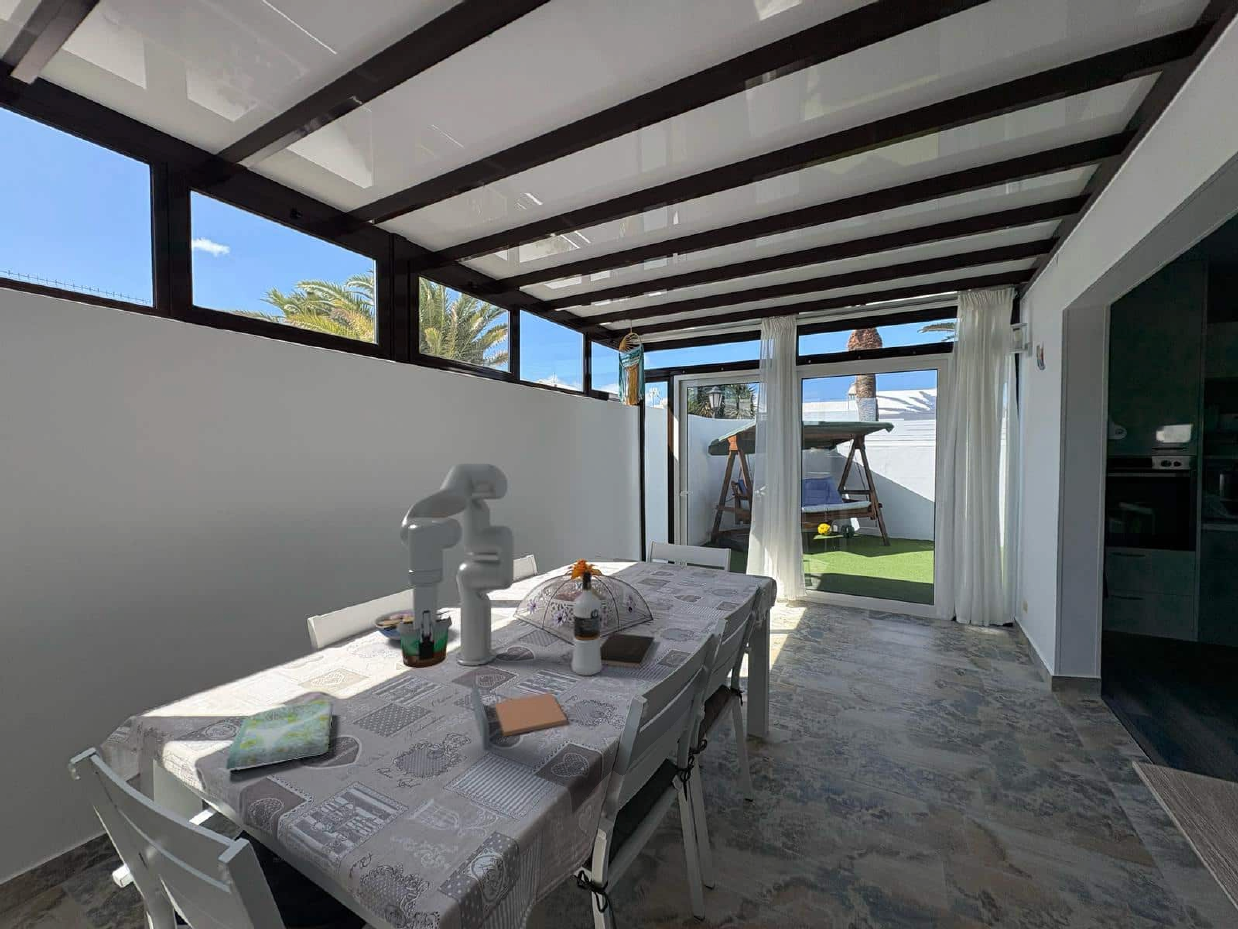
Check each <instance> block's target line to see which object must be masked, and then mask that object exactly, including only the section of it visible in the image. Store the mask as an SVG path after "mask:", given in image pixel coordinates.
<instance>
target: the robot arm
mask: <svg viewBox="0 0 1238 929" xmlns="http://www.w3.org/2000/svg"><path fill="white" fill-rule="evenodd" d="M508 484H509V483H508V479H507V476H506V474H504V472H503V471H501V469H500V468H498V467H497V466H495V465H493V464H490V463H459V464H455V465H453V467H451V468H450V470H449V471H448V473H447V475H446V477H445V478H444V480H443V482H442V484H441V485H440V488H439V490H438V491H436V492H434V493H432V494H429V495H427V496H426V497H424V498H422V499H420V500H419V501H417V502H415V503H414V504H413V505H412V506H410V508H409V509H408V510H407V513H406V515H405V516H404V518H403V520H402V522H401V524H400V526H399V533H398V534H399V535H398V537H399V541H400V543H401V544H402V546H404V547H406V548H407V558H408V559H407V562H408V563H407V571H408V572H407V573H408V574H407V576H408V577H407V579H408V581H407V582H408V583H407V584H408V585H409V586H411V587H412V609H413V629H414V630H416V629H419V627H420V642H419V659H420V660H424V659H431V658H434V640H433V628H434V627H435V626H436V619H437V610H438V594H439V593H438V591H439V590H438V588H439V586H438V584H441V583H443V581H444V565H443V562H444V561H443V560H444V555H443V554H444V552H443V550H446V549H451V548H453V547H455V546H456V545H457V544H459V542H460V540H461V539H462V549H463V552H464V553H465V554H466V555H469V556H496V557H497V559H485V558H484V559H482V558H481V559H468V560H465V561H463V562H462V563H460V564H459V566H458V567H457V572H456V573H457V575H456V576H457V583H458V588H459V597H460V598H459V599H460V603H459V604H460V607H459V608H460V652H458V653H457V654H456V655H455V662H456V663H458V664H459V665H463V666H469V667H470V666H480V665H479V664H481V665H485V664H488V663H490V662H492V661H494V660H495V659H496V658H495V657H497V651H496V650H495V649H493V648H492V600H491V598H490V597H489V595H488V593H487V592H486V591H500V590H501V591H502V590H503V591H504V590H508V589H510V588H511V587H512V585H513V582H514V578H515V577H514V575H515V574H514V572H515V571H514V570H515V568H514V567H515V565H514V562H515V559H514V558H515V557H514V556H515V553H514V552H515V550H514V549H515V548H514V547H515V543H514V542H515V541H514V534H513V530H512V529H511V528H510V527H509V526H506V525H492V524H491V509H490V507H489V505H488V504H487V502H486V501H485V500H502V499H503V498H505V497H506V495H507V493H508V487H509V486H508ZM461 513H462V526H461V522H459V521H458V520H457V519H454V518H452V517H453V516H455V515H457V514H461ZM429 624H431V627H429ZM422 625H424V628H422ZM422 631H424V633H422ZM422 638H423V639H422ZM494 658H495V659H494ZM493 659H494V660H493ZM489 661H490V662H489ZM487 662H488V663H487Z"/></svg>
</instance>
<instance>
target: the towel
mask: <svg viewBox="0 0 1238 929" xmlns="http://www.w3.org/2000/svg"><path fill="white" fill-rule="evenodd" d="M333 705H334V704H333V702H332V701H331V700H327V699H324V700H323V699H321V700H313V701H306V702H302V703H301V702H300V703H294V704H288V705H285V706H284V705H283V706H280V707H279V706H278V707H275V708H271V709H267V710H264V711H259V712H257V713H254V714H251V715H248V716H246V717H245V718H244V719H243V721H242V723H241V726H240V728H239V730H238V731H237V733H236V735H235V737H234V739H233V741H232V744H231V745H230V749H229V751H228V756H227V759H226V761H227V762H226V766H225V767H226V770H227V769H230V768H235V767H245V766H246V767H247V766H251V765H257V764H262V763H269V762H274V761H280V760H288V759H294V758H299V757H303V756H311V755H316V754H320V753H325V752H327V751H328V752H329V748H328V747H329V745H328V744H330V740H329V735H330V736H331V734H330V729H331V730H332V727H331V722H332V723H333V721H331V719H332V712H333Z"/></svg>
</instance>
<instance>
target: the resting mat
mask: <svg viewBox="0 0 1238 929" xmlns="http://www.w3.org/2000/svg"><path fill="white" fill-rule="evenodd" d="M493 707H494V710H495V713H496V716H497V719H498V722H499V725H500V728H501V730H502V734H503V737H508V736H513V735H518V734H522V732H523V733H528V732H532V731H536V730H537V731H538V730H541V729H547V728H552V727H556V726H557V727H558V726H561V725H566V724H567V723H568V722H567V718H566V716H565V714H564V712H563V711H562V708H561V707H560V706H559V704H558V702H557V701H556V699H555V697H554V696H553V694H552V692H548V693H543V694H542V693H541V694H537V695H530V696H525V697H520V698H515V699H509V700H503V701H498V702H494V703H493Z"/></svg>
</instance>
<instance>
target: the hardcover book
mask: <svg viewBox="0 0 1238 929" xmlns="http://www.w3.org/2000/svg"><path fill="white" fill-rule="evenodd" d="M654 641H655V637H654V636H649V635H648V636H645V635H638V634H637V635H636V634H635V635H634V634H627V633H626V634H624V633H616V632H615V633H614V632H613V633H610V635H609V636H608V637H607V638H606V640H604V642H603V643H602V644H601V645H600V653H601V660H602V665H607V664H608V665H609V666H617V667H625V666H626V668H627V667H628V668H635V667H640V668H641V666H642V664H643V662H644V660H645V658H646V656H647V655H646V654H648V653H649V651H650V649H651V647H652V645H653V644H654ZM652 643H653V644H652ZM651 644H652V645H651ZM650 646H651V647H650ZM649 648H650V649H649ZM648 650H649V651H648ZM647 652H648V653H647ZM644 657H645V658H644ZM643 659H644V660H643ZM642 661H643V662H642ZM641 663H642V664H641ZM640 665H641V666H640Z"/></svg>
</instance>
